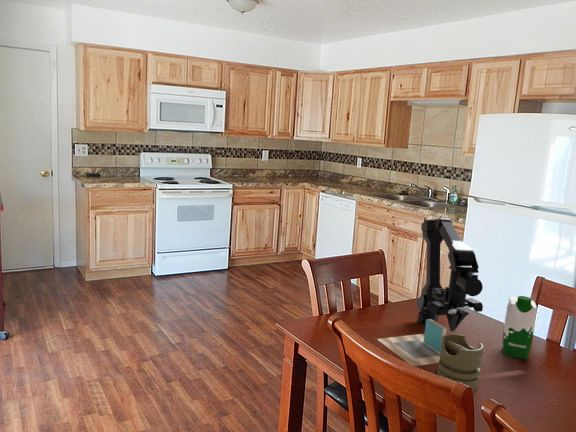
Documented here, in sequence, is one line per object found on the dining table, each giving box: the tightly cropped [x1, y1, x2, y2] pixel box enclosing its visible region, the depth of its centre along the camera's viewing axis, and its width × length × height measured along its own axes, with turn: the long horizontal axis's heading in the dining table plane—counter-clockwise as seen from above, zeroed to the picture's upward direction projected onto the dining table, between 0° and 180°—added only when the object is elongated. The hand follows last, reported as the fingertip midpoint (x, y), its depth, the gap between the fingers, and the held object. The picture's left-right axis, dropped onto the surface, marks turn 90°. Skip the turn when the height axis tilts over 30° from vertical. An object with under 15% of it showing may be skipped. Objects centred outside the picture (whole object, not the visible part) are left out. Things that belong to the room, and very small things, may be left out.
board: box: [376, 333, 440, 367], centre depth 164 cm, size 22×20×1 cm
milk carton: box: [502, 295, 538, 361], centre depth 166 cm, size 9×9×20 cm
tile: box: [423, 319, 448, 352], centre depth 165 cm, size 2×8×8 cm, turn 23°
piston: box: [436, 333, 484, 391], centre depth 145 cm, size 11×12×11 cm
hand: (452, 331), depth 167 cm, fingers closed
